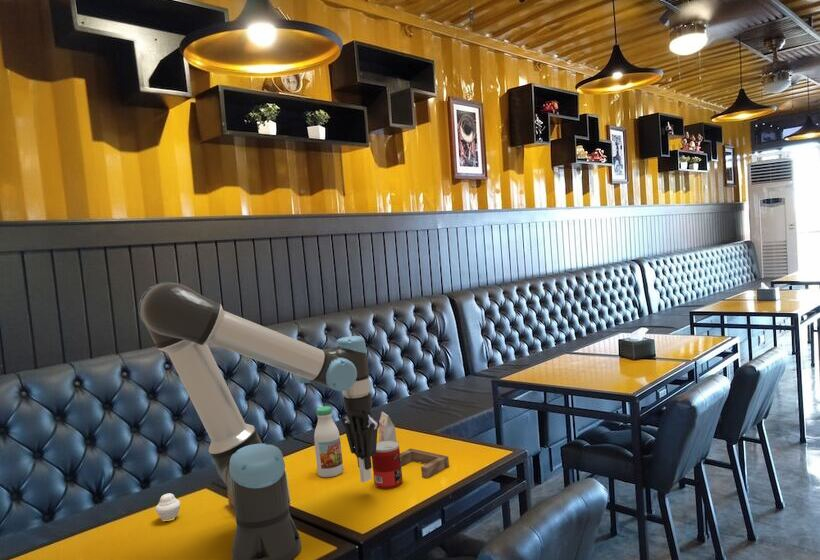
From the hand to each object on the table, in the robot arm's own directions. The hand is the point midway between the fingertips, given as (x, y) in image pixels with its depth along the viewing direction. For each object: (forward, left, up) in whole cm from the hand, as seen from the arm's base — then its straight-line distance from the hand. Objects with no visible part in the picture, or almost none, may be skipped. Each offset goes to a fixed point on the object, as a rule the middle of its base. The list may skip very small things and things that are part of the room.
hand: (366, 480), depth 159 cm
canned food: (+8, 0, -4) cm, 9 cm away
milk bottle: (+5, +22, -4) cm, 23 cm away
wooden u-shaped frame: (+21, 0, -4) cm, 22 cm away
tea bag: (+33, +25, -4) cm, 42 cm away
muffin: (-38, +37, -4) cm, 53 cm away
